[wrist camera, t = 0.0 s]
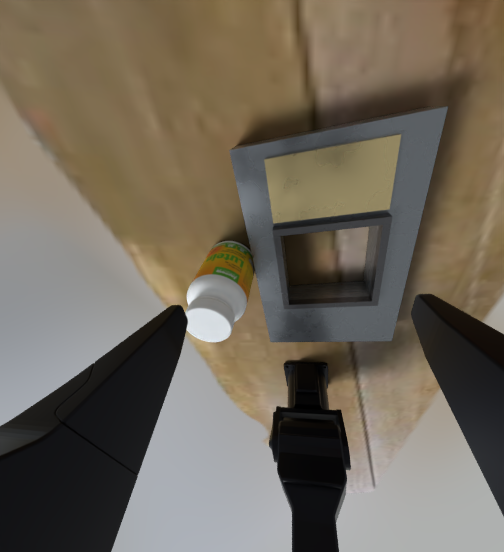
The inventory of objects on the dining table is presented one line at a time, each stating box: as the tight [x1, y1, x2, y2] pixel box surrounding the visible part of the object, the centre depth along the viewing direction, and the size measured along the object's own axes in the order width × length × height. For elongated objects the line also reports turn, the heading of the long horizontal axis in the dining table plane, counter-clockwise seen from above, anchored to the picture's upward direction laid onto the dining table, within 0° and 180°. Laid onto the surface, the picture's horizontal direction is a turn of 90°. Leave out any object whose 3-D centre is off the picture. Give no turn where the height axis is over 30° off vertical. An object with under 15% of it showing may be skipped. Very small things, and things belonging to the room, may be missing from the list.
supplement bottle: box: [185, 241, 255, 342], centre depth 22 cm, size 5×5×10 cm
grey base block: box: [229, 106, 448, 342], centre depth 22 cm, size 22×14×3 cm, turn 11°
